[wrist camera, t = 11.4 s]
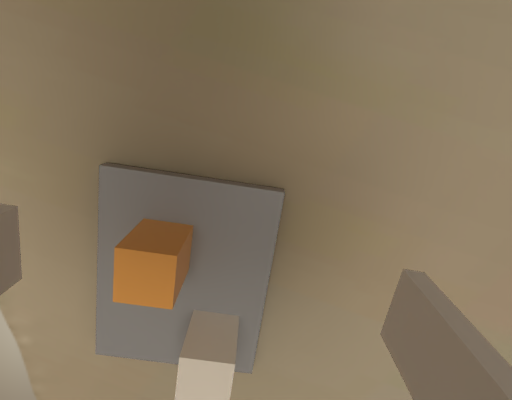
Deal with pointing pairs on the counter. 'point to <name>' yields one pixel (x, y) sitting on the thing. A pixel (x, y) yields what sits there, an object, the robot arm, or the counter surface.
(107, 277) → the plate
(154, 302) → the orange rectangular block
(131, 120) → the counter surface
